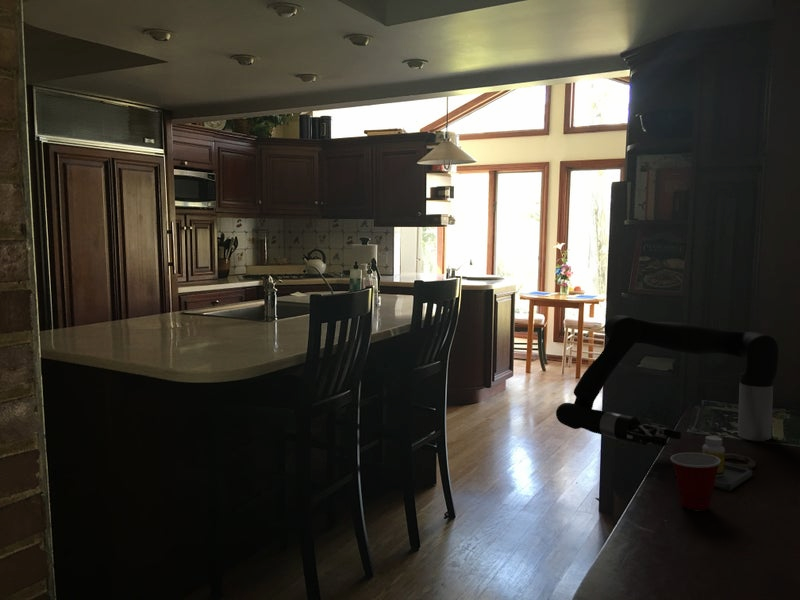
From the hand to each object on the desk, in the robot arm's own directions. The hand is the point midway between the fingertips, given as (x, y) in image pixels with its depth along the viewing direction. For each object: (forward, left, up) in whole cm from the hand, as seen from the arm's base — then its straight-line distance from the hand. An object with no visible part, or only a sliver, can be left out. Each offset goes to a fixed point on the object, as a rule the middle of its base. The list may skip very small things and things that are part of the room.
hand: (673, 438), depth 176 cm
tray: (0, +11, -8) cm, 13 cm away
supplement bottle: (0, +11, -7) cm, 13 cm away
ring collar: (-14, +11, -8) cm, 19 cm away
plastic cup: (+23, +16, -8) cm, 29 cm away
